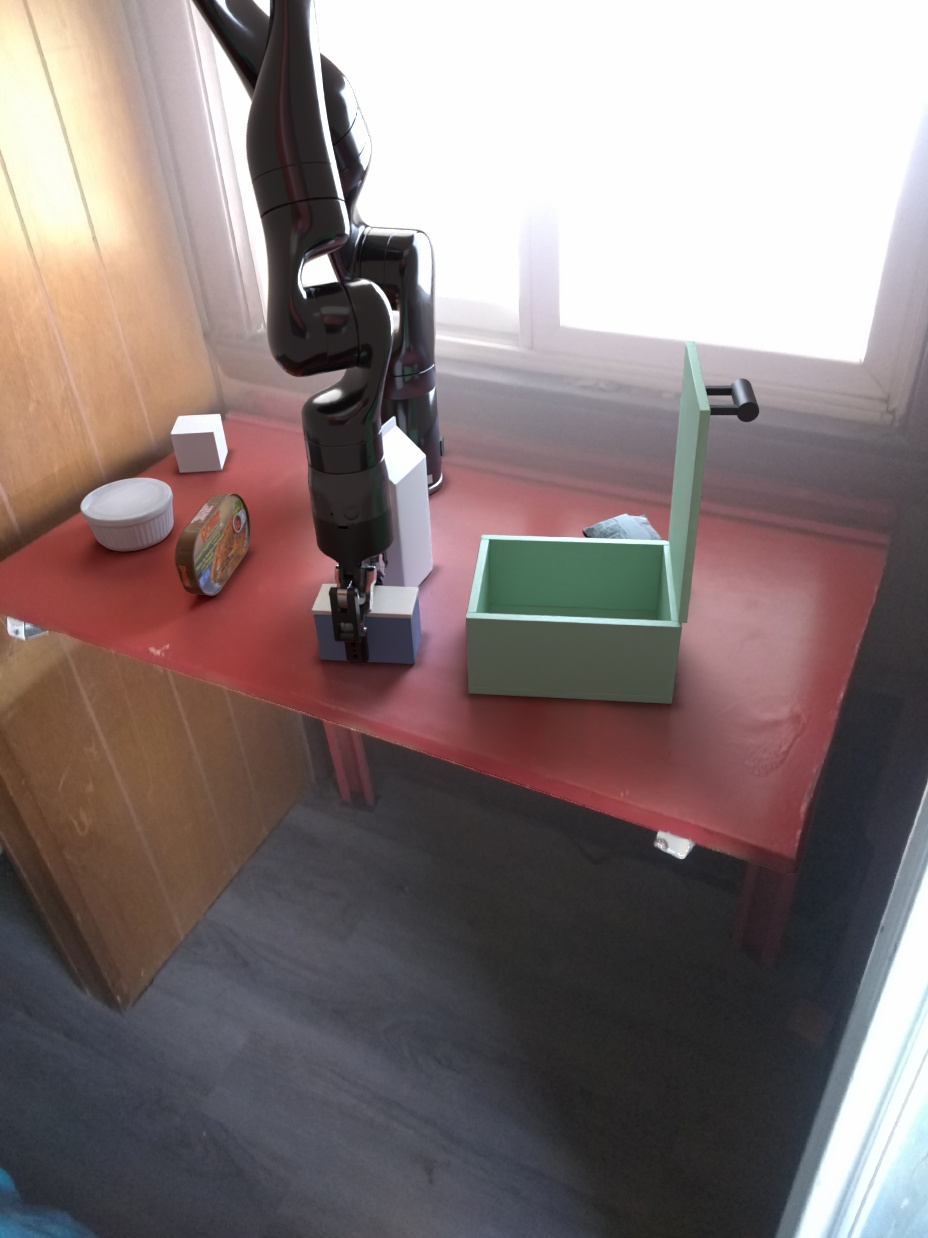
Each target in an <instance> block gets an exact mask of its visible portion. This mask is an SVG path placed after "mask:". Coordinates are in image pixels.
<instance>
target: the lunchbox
mask: <svg viewBox="0 0 928 1238" xmlns="http://www.w3.org/2000/svg"><path fill="white" fill-rule="evenodd" d="M477 551H478V552H477V558H476V563H475V567H474V573H473V578H472V583H471V589H470V594H469V599H468V604H467V608H466V614H465V635H466V658H467V659H466V661H467V682H468V683H467V685H468V694H474V695H493V696H512V697H531V698H551V699H555V698H556V699H568V700H569V699H570V700H571V699H573V700H589V701H607V702H608V701H609V702H626V703H627V702H628V703H646V704H647V703H648V704H665V705H667V704H669V705H671V704H672V703H673V698H674V697H673V696H674V688H675V682H676V674H677V668H678V667H677V666H678V660H679V653H680V644H681V637H682V630H683V623H678V617H677V608H676V599H675V590H674V582H673V573H672V564H671V555H670V547H669V540H664V541H662V540H631V539H600V538H585V537H570V536H569V537H568V536H567V537H565V536H564V537H563V536H535V535H507V534H506V535H504V534H501V535H500V534H481V536H480V541H479V547H478V550H477Z"/></svg>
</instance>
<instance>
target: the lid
mask: <svg viewBox="0 0 928 1238" xmlns="http://www.w3.org/2000/svg"><path fill="white" fill-rule="evenodd" d="M684 347H685V348H684V357H683V368H682V380H681V391H680V401H679V413H678V423H677V424H678V425H677V426H678V427H677V437H676V445H675V446H676V447H675V458H674V470H673V480H672V490H671V501H670V515H669V523H668V525H669V526H668V536H667V537H668V541H669V547H670V555H671V564H672V573H673V582H674V590H675V599H676V608H677V617H678V623H682V624H687V623H688V619H689V609H690V601H691V591H692V583H693V582H692V581H693V574H694V564H695V556H696V546H697V537H698V530H699V529H698V528H699V519H700V512H701V511H700V510H701V502H702V491H703V483H704V475H705V474H704V473H705V464H706V455H707V448H708V438H709V429H710V421H711V420H710V419H711V416H736V417H737V419H738V420H739V421H740V422H743V423H750V422H753V421H755V420H756V419H757V418H758V416H759V414H760V407H759V404H758V401H757V398H756V394H755V392H754V389H753V386H752V383H751V381H749V380H748V379H746V378H738V379H735V380H734V381H732V383H731V384H729V385H727V384H726V385H724V384H723V385H706V384H705V381H704V376H703V370H702V367H701V363H700V359H699V354H698V351H697V350H698V349H697V345H696V342H695V341H694V340H692V341H685V345H684ZM713 396H714V397H720V396H723V397H725V396H728V397H729V396H730V397H731V399H732V402H733V404H710V402H709V398H708V397H713Z"/></svg>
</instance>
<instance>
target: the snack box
mask: <svg viewBox="0 0 928 1238" xmlns="http://www.w3.org/2000/svg"><path fill="white" fill-rule="evenodd" d="M330 587H337V583H321V586H320V589H319V591H318V594H317V595H316V599H315V601H314V604H313V606H312V608H311V614H312V615H313V620H314V621H313V622H314V626H315V627H314V628H315V633H316V637H317V646H318V650H319V656H320V660H322V661H323V660H325V661H342V662H345V661H346V662H348V661H347V658H346V651H345V643H344V642H336V641H335V638H334V630H333V622H332V614H331V605H330V597H329V590H330ZM419 592H420V587H419V586H418V587H398V586H374V587H373V607H372V611H371V612H369V613H368V614H367V640H368V648H369V660H368V663H384V664H385V663H386V664H405V665H406V664H407V665H415V664H416V661H417V660H416V659H417V656H418V652H419V648H420V645H421V640H422V628H421V615H420V603H419ZM364 602H365V598H359V604H363V603H364ZM349 624H351V623H349Z"/></svg>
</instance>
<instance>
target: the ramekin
mask: <svg viewBox="0 0 928 1238" xmlns="http://www.w3.org/2000/svg"><path fill="white" fill-rule="evenodd" d="M173 500H174V495H173V491H172V488H171V487H170V485H168V484H167V483H166V482H164V481H163V480H159V479H156V478H151V477H132V478H125V479H120V480H116V481H113V482H109V483H107V484H104V485H101V486H99V487H98V488H96V489H94V490H92V491H91V492H89V493H88V494H87V495H85V497H84V498H83V499H82V500H81V503H80V506H79V508H80V513H81V515H82V517H83V519H84V520H85V521H86V523H87V524H88V527H89V528H90V530H91V532H92V534H93V536H94V537H95V539H96V541H97V542H98V543H99V544H100V545H102V546H103V547H104V548H106V549H108V550H112V551H114V552H115V551H116V552H133V551H134V552H135V551H140V550H144V549H147V548H150V547H153V546H155V545H157V544H158V543H161V542H162V541H164V539H166V538H167V537H168V535H169V534H170V533H171V531H172V530H173V527H174V522H175V520H174V510H173Z"/></svg>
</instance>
